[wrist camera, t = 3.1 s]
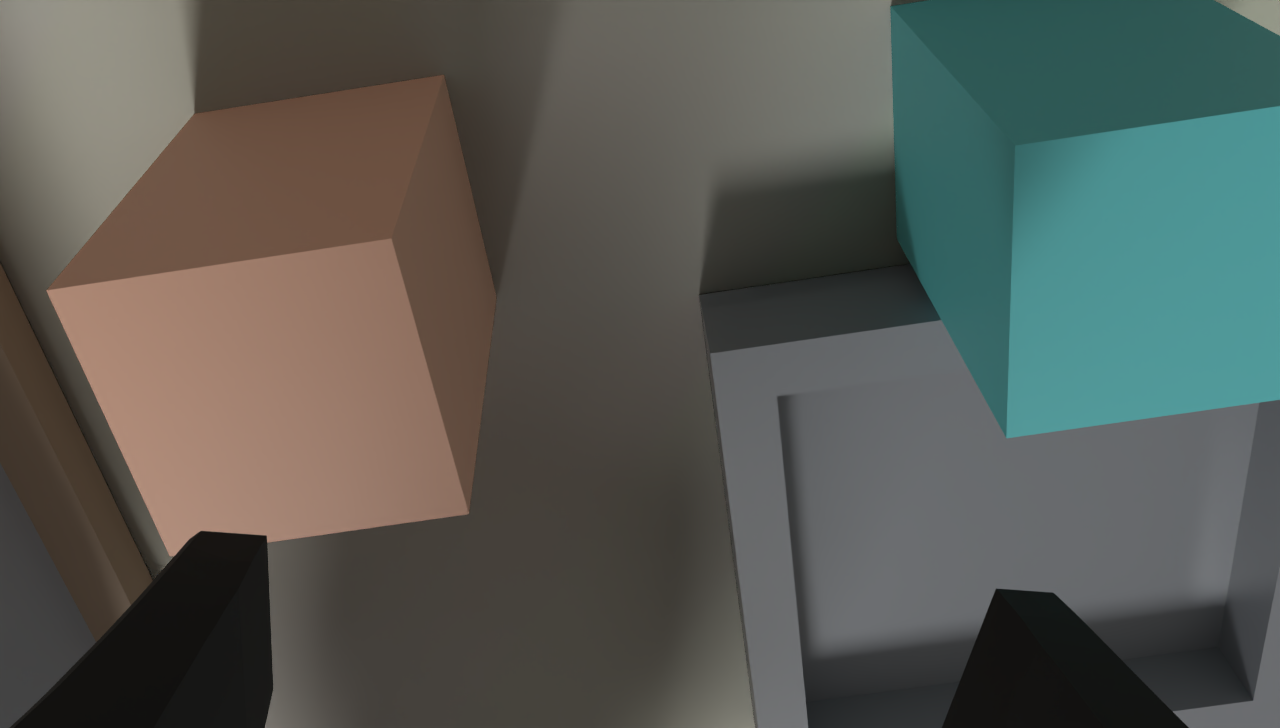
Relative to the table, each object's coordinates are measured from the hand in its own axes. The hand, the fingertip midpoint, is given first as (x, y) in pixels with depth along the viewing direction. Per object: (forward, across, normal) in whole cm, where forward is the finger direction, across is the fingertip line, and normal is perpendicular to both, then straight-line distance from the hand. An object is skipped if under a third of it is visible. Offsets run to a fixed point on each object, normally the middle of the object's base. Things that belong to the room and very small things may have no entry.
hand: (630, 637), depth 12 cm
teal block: (+10, -6, -3) cm, 12 cm away
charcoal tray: (+10, -8, +5) cm, 14 cm away
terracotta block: (+10, +4, 0) cm, 10 cm away
